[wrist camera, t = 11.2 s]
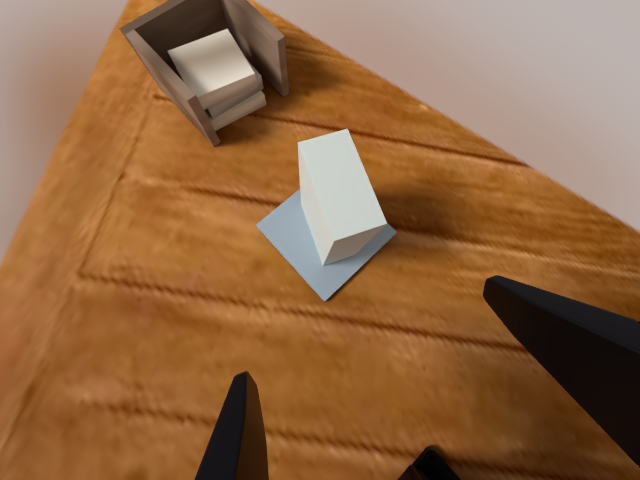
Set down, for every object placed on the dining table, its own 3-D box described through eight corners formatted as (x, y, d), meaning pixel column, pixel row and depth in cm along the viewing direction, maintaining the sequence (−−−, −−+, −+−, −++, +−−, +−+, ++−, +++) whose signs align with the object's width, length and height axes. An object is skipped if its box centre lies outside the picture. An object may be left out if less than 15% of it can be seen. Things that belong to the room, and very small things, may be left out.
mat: (395, 233, 24) (397, 232, 24) (324, 301, 23) (324, 301, 22) (328, 167, 26) (329, 164, 25) (256, 226, 24) (255, 225, 23)
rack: (289, 93, 27) (284, 36, 21) (214, 146, 25) (187, 100, 20) (235, 40, 28) (217, -27, 23) (160, 88, 27) (119, 28, 21)
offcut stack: (270, 106, 27) (264, 68, 23) (214, 135, 26) (195, 102, 22) (240, 64, 28) (228, 20, 24) (184, 90, 27) (161, 50, 23)
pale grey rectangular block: (354, 254, 23) (387, 223, 14) (322, 265, 23) (334, 240, 14) (331, 194, 24) (347, 128, 15) (300, 204, 24) (297, 142, 15)
